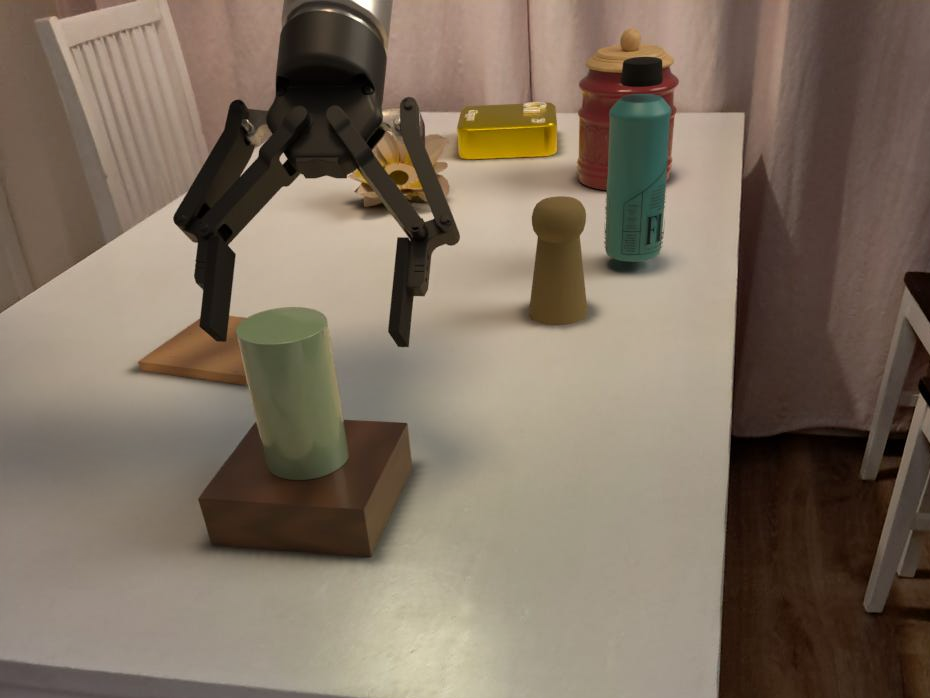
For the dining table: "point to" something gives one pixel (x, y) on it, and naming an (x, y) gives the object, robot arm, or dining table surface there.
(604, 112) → the kitchen canister
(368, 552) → the walnut block
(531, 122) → the element tile
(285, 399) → the sage cup
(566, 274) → the pepper shaker
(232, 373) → the wooden trivet
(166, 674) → the dining table surface
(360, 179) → the decorative flower
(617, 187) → the beverage bottle
